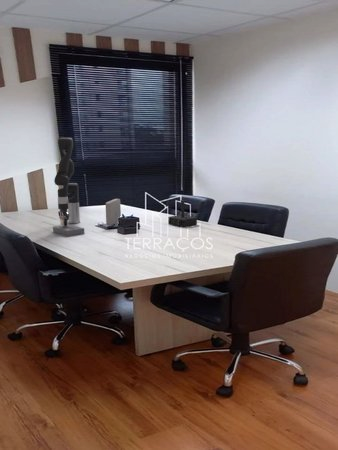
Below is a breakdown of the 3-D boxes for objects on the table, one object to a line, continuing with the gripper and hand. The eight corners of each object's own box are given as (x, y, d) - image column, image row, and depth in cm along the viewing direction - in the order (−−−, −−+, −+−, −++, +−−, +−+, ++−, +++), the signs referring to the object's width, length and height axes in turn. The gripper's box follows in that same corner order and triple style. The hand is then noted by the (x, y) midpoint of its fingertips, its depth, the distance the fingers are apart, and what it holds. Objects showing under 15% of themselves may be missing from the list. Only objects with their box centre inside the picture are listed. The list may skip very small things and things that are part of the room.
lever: (60, 226, 319) (60, 218, 318) (66, 225, 323) (66, 217, 321) (62, 226, 317) (61, 218, 316) (68, 225, 320) (68, 218, 319)
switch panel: (53, 231, 320) (52, 226, 319) (69, 229, 329) (69, 224, 328) (67, 236, 304) (67, 231, 303) (84, 233, 313) (84, 228, 312)
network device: (113, 228, 332) (112, 202, 328) (103, 227, 334) (102, 202, 330) (123, 222, 357) (122, 198, 353) (113, 221, 358) (112, 198, 354)
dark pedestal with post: (166, 224, 344) (166, 200, 340) (181, 222, 355) (181, 198, 351) (182, 228, 330) (182, 202, 326) (197, 225, 341) (197, 200, 337)
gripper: (72, 203, 314) (73, 225, 317) (63, 201, 324) (64, 223, 327) (63, 204, 309) (64, 227, 312) (54, 202, 319) (55, 224, 322)
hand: (64, 225), depth 320 cm, fingers closed on lever, 3 cm apart
